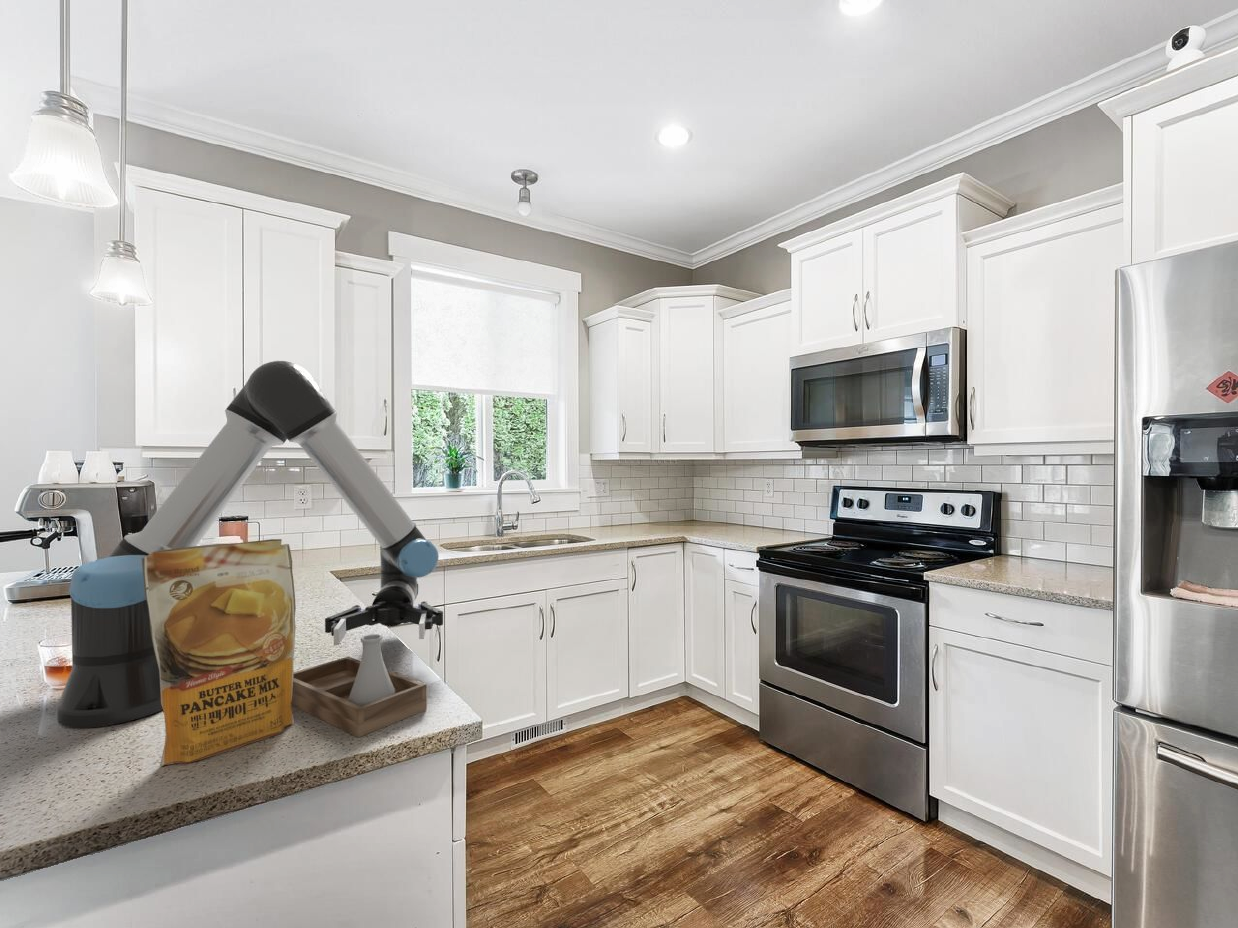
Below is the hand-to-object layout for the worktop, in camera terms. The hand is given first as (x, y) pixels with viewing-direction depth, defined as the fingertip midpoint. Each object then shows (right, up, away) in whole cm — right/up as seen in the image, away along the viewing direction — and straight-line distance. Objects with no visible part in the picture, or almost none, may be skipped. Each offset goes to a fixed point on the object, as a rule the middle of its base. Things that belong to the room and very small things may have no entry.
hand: (379, 634), depth 103 cm
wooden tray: (-2, -10, -5) cm, 11 cm away
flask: (+2, -8, -8) cm, 12 cm away
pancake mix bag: (-14, -10, -18) cm, 25 cm away
